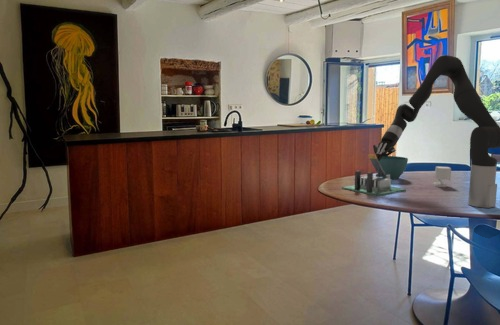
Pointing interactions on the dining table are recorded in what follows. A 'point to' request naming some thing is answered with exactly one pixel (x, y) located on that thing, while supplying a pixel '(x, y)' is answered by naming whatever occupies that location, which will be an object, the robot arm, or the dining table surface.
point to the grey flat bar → (377, 165)
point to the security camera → (442, 175)
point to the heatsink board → (373, 185)
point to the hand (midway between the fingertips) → (375, 161)
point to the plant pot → (393, 165)
